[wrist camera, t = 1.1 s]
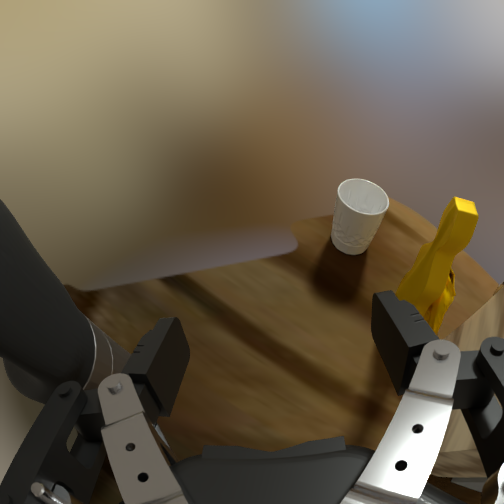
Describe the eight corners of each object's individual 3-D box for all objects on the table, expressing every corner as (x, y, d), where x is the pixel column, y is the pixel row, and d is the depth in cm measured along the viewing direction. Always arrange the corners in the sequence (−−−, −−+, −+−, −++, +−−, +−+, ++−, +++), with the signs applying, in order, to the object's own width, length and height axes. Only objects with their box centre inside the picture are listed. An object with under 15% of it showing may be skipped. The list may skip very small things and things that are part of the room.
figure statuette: (423, 376, 31) (532, 299, 14) (374, 368, 33) (469, 281, 16) (425, 273, 41) (488, 171, 24) (385, 263, 43) (436, 150, 26)
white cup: (376, 257, 44) (396, 214, 36) (332, 259, 44) (345, 214, 36) (364, 222, 49) (379, 179, 41) (323, 222, 49) (332, 177, 41)
